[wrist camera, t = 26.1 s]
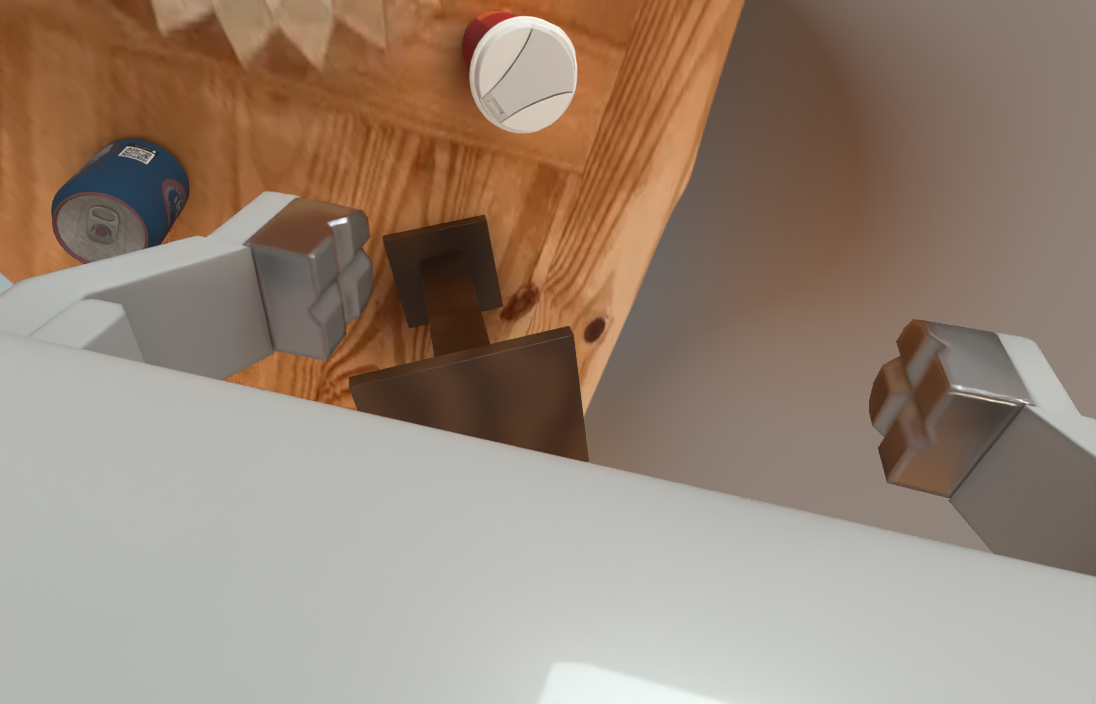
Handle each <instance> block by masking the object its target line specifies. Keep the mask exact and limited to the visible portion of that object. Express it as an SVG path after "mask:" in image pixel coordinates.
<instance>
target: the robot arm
mask: <svg viewBox="0 0 1096 704" xmlns="http://www.w3.org/2000/svg"><path fill="white" fill-rule="evenodd" d="M369 238H370V230H369V222H368V217H367V216H366V214H365V213H364V211H363V210H359V209H355V208H350V207H346V206H341V205H336V204H332V203H327V202H322V201H318V200H313V199H309V198H304V197H302V198H301V197H299V196H296V195H291V194H285V193H279V192H272V191H264V192H263V193H262V194H261V195H259V196H258V197H257V198H256V199H254V200H253V201H252V202H251V203H249V204H248V205H247V206H246V207H244V208H243V209H242V210H241V211H239V212H238V213H237V214H235V215H234V216H233V217H232V218H230V219H229V220H228V221H227V222H225V223H224V224H223V225H222V226H220V227H219V228H218V229H217V230H215V231H214V232H213V233H212V234H210V235H209V236H208V237H207V238H205V237H200V236H194V237H190V238H186V239H182V240H178V241H174V242H170V243H166V244H162V245H158V246H154V247H150V248H146V249H142V250H138V251H135V252H131V253H127V254H123V255H119V256H115V257H111V258H107V259H103V260H99V261H95V262H91V263H87V264H83V265H79V266H76V267H72V268H68V269H64V270H60V271H56V272H52V273H48V274H44V275H40V276H36V277H32V278H28V279H24V280H21V281H19V282H18V283H16V284H14V285H13V286H11V287H10V288H9V289H7V290H5V291H4V292H2V293H1V294H0V704H1096V420H1095V419H1093V418H1088V417H1084V416H1081V415H1080V414H1079V412H1078V411H1077V409H1076V407H1075V406H1074V404H1073V403H1072V401H1071V399H1070V398H1069V396H1068V394H1067V393H1066V391H1065V390H1064V388H1063V386H1062V385H1061V383H1060V382H1059V380H1058V379H1057V377H1056V376H1055V373H1054V372H1053V370H1052V369H1051V367H1050V365H1049V364H1048V362H1047V361H1046V359H1045V357H1044V356H1043V354H1042V352H1041V351H1040V349H1039V348H1038V346H1037V344H1036V343H1035V342H1033V341H1031V340H1030V339H1028V338H1026V337H1019V336H1013V335H1007V334H1001V333H994V332H988V331H983V330H976V329H971V328H965V327H959V326H954V325H947V324H942V323H936V322H930V321H924V320H916V319H913V320H912V321H911V322H910V323H909V324H908V325H907V326H906V327H905V328H904V329H903V331H902V333H901V334H900V336H899V338H898V339H897V341H896V342H897V346H898V349H899V352H900V356H899V357H897V358H895V359H893V360H891V361H889V362H887V363H886V364H884V365H883V366H882V367H881V369H880V371H879V373H878V375H877V377H876V379H875V381H874V383H873V387H872V391H871V395H870V399H869V413H870V418H871V421H872V426H873V427H874V428H875V429H876V430H877V431H878V432H879V433H880V434H881V435H882V436H883V437H884V439H883V441H882V442H881V444H880V446H879V447H878V450H879V454H880V458H881V461H882V465H883V469H884V473H885V476H886V480H887V483H889V484H894V485H897V486H901V487H906V488H910V489H914V490H918V491H922V492H926V493H930V494H935V495H938V496H943V497H947V498H950V499H949V502H950V503H951V504H952V505H953V506H954V508H955V509H956V510H957V511H958V512H959V514H960V515H961V516H962V517H963V518H964V519H965V521H966V522H967V523H968V524H969V525H970V526H971V528H972V529H973V530H974V531H975V532H976V534H977V535H978V536H979V537H980V538H981V539H982V540H983V542H984V543H985V544H986V545H987V547H989V549H990V550H991V551H992V552H993V553H988V552H984V551H980V550H975V549H970V548H966V547H962V546H957V545H953V544H948V543H944V542H939V541H935V540H930V539H925V538H921V537H916V536H913V535H908V534H903V533H899V532H895V531H890V530H885V529H881V528H877V527H872V526H868V525H863V524H859V523H855V522H850V521H846V520H841V519H836V518H832V517H828V516H823V515H819V514H814V513H810V512H805V511H801V510H796V509H792V508H788V507H783V506H779V505H774V504H770V503H765V502H760V501H756V500H752V499H748V498H743V497H738V496H734V495H730V494H725V493H721V492H716V491H712V490H707V489H703V488H698V487H694V486H689V485H685V484H680V483H676V482H672V481H667V480H663V479H658V478H653V477H649V476H645V475H640V474H635V473H632V472H627V471H623V470H618V469H614V468H609V467H605V466H600V465H596V464H592V463H587V462H583V461H578V460H574V459H569V458H565V457H560V456H556V455H551V454H547V453H543V452H538V451H534V450H529V449H525V448H520V447H516V446H511V445H507V444H502V443H498V442H494V441H489V440H485V439H480V438H476V437H471V436H467V435H462V434H458V433H453V432H449V431H445V430H440V429H436V428H431V427H427V426H422V425H418V424H413V423H409V422H405V421H400V420H396V419H391V418H387V417H382V416H378V415H373V414H369V413H364V412H360V411H356V410H351V409H347V408H342V407H338V406H333V405H329V404H324V403H320V402H315V401H311V400H307V399H302V398H298V397H293V396H289V395H284V394H280V393H275V392H271V391H266V390H262V389H258V388H253V387H249V386H244V385H240V384H235V383H231V382H226V381H223V380H224V379H226V378H228V377H230V376H232V375H234V374H236V373H238V372H239V371H241V370H243V369H245V368H247V367H249V366H251V365H253V364H254V363H256V362H258V361H260V360H262V359H264V358H266V357H268V356H269V355H271V354H273V351H278V352H283V353H289V354H294V355H299V356H304V357H310V358H315V359H320V360H325V361H327V360H328V359H329V357H330V356H331V354H332V353H333V352H334V350H335V349H336V348H337V346H338V345H339V344H340V342H341V341H342V340H343V338H344V337H345V336H346V327H345V323H346V322H349V321H351V320H354V319H356V318H358V317H359V316H360V315H361V313H362V312H363V311H364V309H365V308H366V306H367V303H368V300H369V297H370V294H371V291H372V284H373V263H372V261H371V259H370V258H369V256H368V255H367V254H366V252H365V251H364V250H363V248H362V247H363V245H364V244H365V243H366V242H367V241H368V239H369Z"/></svg>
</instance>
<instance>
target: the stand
mask: <svg viewBox="0 0 1096 704" xmlns="http://www.w3.org/2000/svg"><path fill="white" fill-rule="evenodd" d="M383 242H384V245H385V249H386V252H387V255H388V259H389V262H390V265H391V269H392V272H393V276H394V279H395V282H396V286H397V289H398V292H399V296H400V299H401V302H402V306H403V309H404V313H405V316H406V319H407V323H408V326H409V328H411V327H416V326H420V325H425V324H429V325H430V332H431V338H432V345H433V351H434V357H433V358H429V359H425V360H421V361H416V362H412V363H408V364H403V365H399V366H395V367H391V368H386V369H382V370H378V371H373V372H369V373H365V374H361V375H356V376H352V377H349V389H350V392H351V394H352V397H353V400H354V402H355V405H356V407H357V410H358V411H360V412H364V413H369V414H373V415H378V416H382V417H387V418H391V419H396V420H400V421H405V422H409V423H413V424H418V425H422V426H427V427H431V428H436V429H440V430H445V431H449V432H453V433H458V434H462V435H467V436H471V437H476V438H480V439H485V440H489V441H494V442H498V443H502V444H507V445H511V446H516V447H520V448H525V449H529V450H534V451H538V452H543V453H547V454H551V455H556V456H560V457H565V458H569V459H574V460H578V461H583V462H588V461H589V458H588V451H587V443H586V433H585V425H584V417H583V409H582V400H581V392H580V384H579V375H578V367H577V359H576V350H575V342H574V335H573V333H572V331H571V329H570V327H569V326H566V327H562V328H558V329H553V330H549V331H545V332H541V333H536V334H532V335H528V336H523V337H519V338H515V339H511V340H506V341H502V342H498V343H493V344H490V342H489V338H488V335H487V331H486V328H485V324H484V321H483V317H482V314H481V312H482V311H486V310H491V309H495V308H499V307H503V304H502V299H501V294H500V289H499V283H498V278H497V273H496V268H495V262H494V257H493V252H492V247H491V241H490V236H489V231H488V226H487V221H486V218H485V215H482V216H477V217H472V218H468V219H463V220H458V221H453V222H448V223H444V224H439V225H434V226H429V227H425V228H420V229H415V230H410V231H406V232H401V233H396V234H391V235H386V236H383Z"/></svg>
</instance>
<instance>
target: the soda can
mask: <svg viewBox="0 0 1096 704" xmlns="http://www.w3.org/2000/svg"><path fill="white" fill-rule="evenodd" d="M188 196H189V183H188V179H187V176H186V173H185V171H184V169H183V168H182V166H181V165H180V163H179V162H178V161H177V160H176V159H175V158H174V157H173V156H172V155H171V154H170V153H169V152H167V151H166V150H164V149H163V148H161V147H159V146H157V145H155V144H153V143H150V142H147V141H143V140H136V139H125V140H119V141H116V142H113V143H111V144H109V145H107V146H106V147H104V148H103V149H102V150H101V151H100V152H99V153H98V154H97V155H96V156H95V157H94V158H93V159H91V160H90V161H89V162H88V163H87V164H86V165H85V166H84V167H83V168H82V169H81V170H80V171H79V172H78V173H76V174H75V175H74V176H73V177H72V178H71V179H70V180H69V181H68V182H67V183H66V184H65V185H64V186H63V187H62V188H61V189H60V190H59V191H58V192H57V194H56V195H55V197H54V200H53V203H52V211H51V212H52V226H53V231H54V234H55V236H56V238H57V240H58V242H59V243H60V245H61V246H62V247H63V248H64V250H65V251H66V252H68V253H69V254H70V255H71V256H72V257H74V258H75V259H77V260H78V261H80V262H82V263H84V264H87V263H91V262H95V261H99V260H103V259H107V258H111V257H115V256H119V255H123V254H127V253H131V252H135V251H138V250H142V249H146V248H150V247H154V246H158V245H161V243H162V242H163V240H164V238H165V237H166V235H167V233H168V232H169V230H170V229H171V227H172V225H173V224H174V222H175V220H176V219H177V217H178V215H179V214H180V212H181V211H182V209H183V207H184V206H185V204H186V202H187V199H188Z"/></svg>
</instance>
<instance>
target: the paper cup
mask: <svg viewBox="0 0 1096 704" xmlns="http://www.w3.org/2000/svg"><path fill="white" fill-rule="evenodd" d="M463 54H464V58H465V62H466V65H467V68H468V72H469V76H470V77H469V79H470V88H471V92H472V95H473V98H474V100H475V103H476V105H477V107H478V108H479V110H480V111H481V113H482V114H483V115H484V116H485V117H486V118H487V119H488V120H489V121H490V122H491V123H492V124H494V125H495V126H497V127H499V128H501V129H503V130H506V131H508V132H513V133H532V132H536V131H539V130H542V129H544V128H546V127H548V126H549V125H551V124H552V123H554V122H555V121H556V120H557V119H558V118H559V117H561V115H562V114H563V113H564V112H565V110H566V109H567V107H568V106H569V104H570V102H571V100H572V98H573V95H574V93H575V89H576V84H577V63H576V57H575V49H574V46H573V45H572V43H571V41H570V39H569V38H568V36H567V35H566V34H565V32H564V31H563V30H562V29H561V28H560V27H558V26H556V25H554V24H551V23H549V22H547V21H545V20H543V19H539V18H536V17H529V16H517V15H514V14H511V13H507V12H504V11H496V10H493V11H487V12H484V13H482V14H480V15H478V16H477V17H475V18H474V19H473V20H472V21H471V23H470V24H469V25H468V27H467V29H466V31H465V34H464V38H463Z"/></svg>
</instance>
